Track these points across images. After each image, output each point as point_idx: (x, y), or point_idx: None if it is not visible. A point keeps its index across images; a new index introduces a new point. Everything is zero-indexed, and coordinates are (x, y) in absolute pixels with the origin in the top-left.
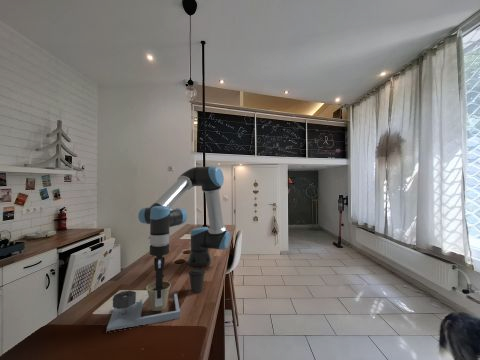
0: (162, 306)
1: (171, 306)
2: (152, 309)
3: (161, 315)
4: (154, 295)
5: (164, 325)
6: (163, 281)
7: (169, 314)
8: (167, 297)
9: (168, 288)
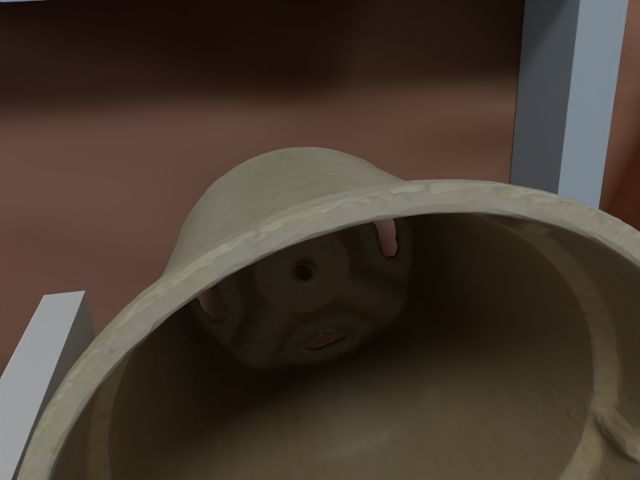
0: (428, 220)
1: (187, 55)
2: (387, 341)
3: (593, 206)
4: (565, 475)
5: (632, 138)
6: (54, 473)
7: (608, 93)
8: (389, 176)
9: (584, 237)
